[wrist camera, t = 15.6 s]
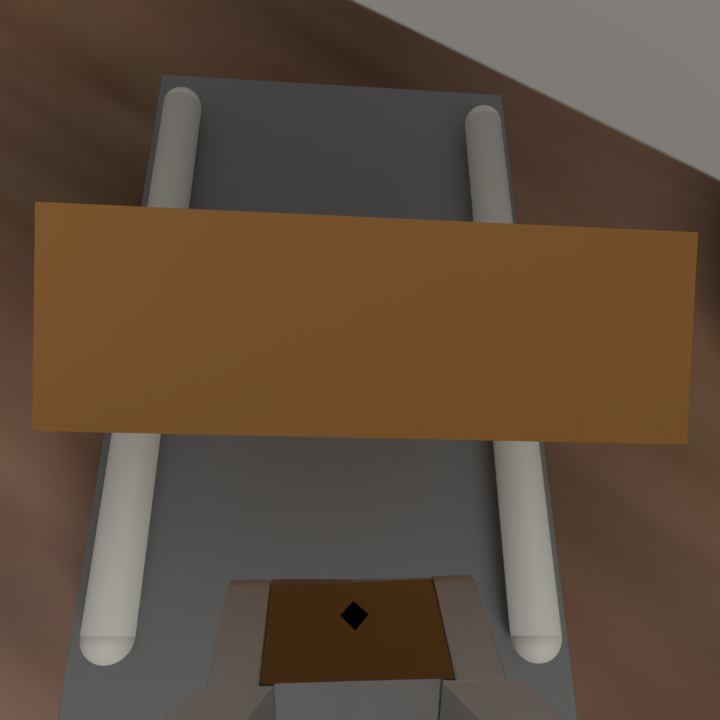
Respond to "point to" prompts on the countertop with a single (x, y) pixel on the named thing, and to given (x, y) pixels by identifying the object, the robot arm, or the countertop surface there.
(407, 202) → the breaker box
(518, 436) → the lever
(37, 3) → the countertop surface
